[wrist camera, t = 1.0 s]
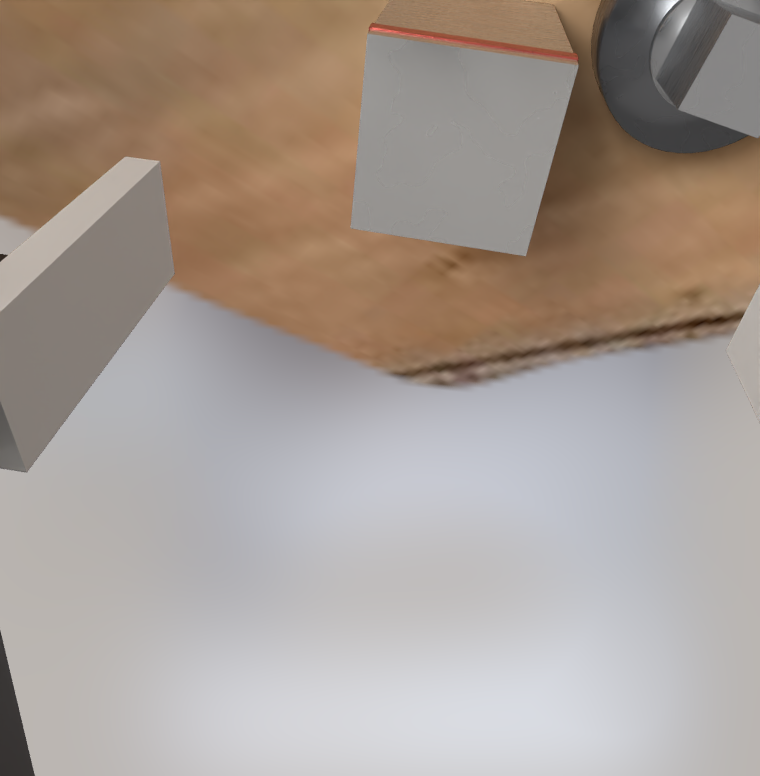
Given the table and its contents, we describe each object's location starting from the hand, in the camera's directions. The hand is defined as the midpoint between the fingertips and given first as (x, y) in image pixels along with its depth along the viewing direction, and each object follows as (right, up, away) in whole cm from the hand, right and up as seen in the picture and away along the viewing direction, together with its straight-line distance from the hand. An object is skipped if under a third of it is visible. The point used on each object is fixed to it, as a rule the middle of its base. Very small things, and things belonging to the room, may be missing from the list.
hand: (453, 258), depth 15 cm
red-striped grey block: (+2, +11, +15) cm, 19 cm away
